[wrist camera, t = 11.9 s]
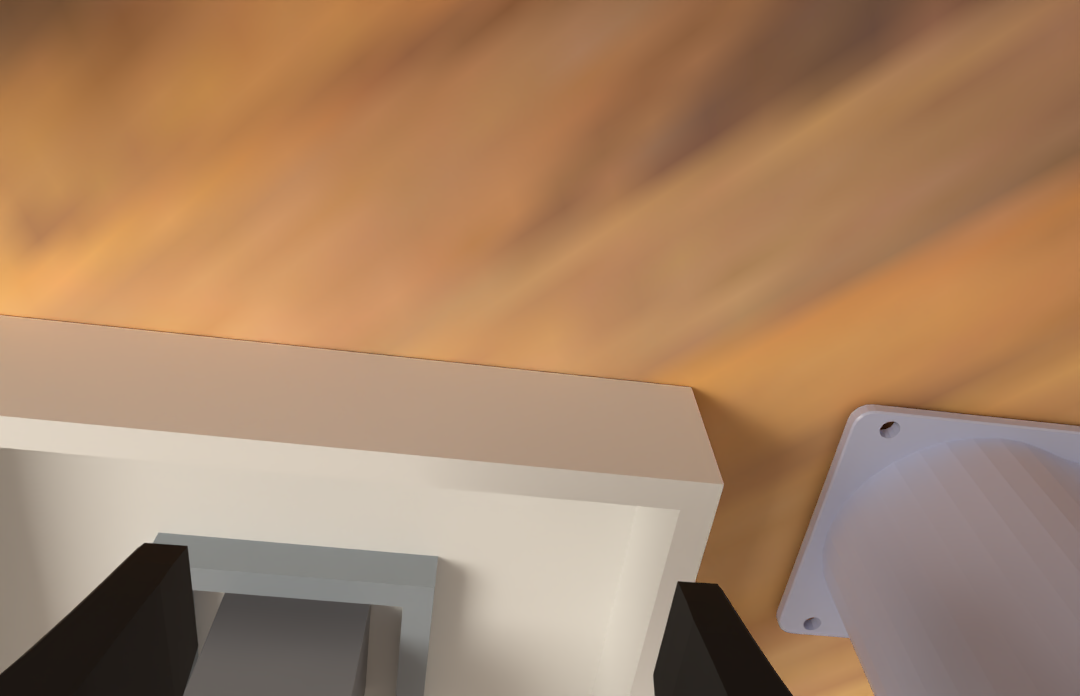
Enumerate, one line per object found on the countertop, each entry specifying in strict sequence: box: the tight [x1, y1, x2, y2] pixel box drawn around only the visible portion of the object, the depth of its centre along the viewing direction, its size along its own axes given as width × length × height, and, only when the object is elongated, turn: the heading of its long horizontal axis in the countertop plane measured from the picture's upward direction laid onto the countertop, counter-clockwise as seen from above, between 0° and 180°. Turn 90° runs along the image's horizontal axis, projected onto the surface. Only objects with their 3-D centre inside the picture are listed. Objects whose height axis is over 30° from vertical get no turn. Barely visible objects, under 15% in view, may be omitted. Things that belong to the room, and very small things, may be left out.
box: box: [0, 315, 724, 696], centre depth 24 cm, size 20×20×4 cm
